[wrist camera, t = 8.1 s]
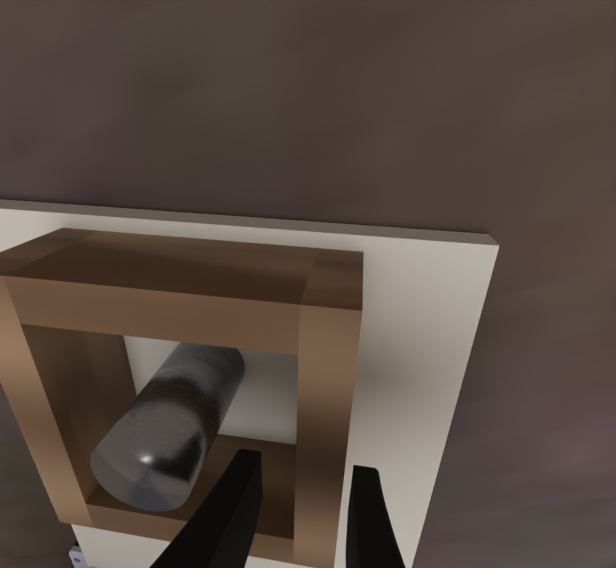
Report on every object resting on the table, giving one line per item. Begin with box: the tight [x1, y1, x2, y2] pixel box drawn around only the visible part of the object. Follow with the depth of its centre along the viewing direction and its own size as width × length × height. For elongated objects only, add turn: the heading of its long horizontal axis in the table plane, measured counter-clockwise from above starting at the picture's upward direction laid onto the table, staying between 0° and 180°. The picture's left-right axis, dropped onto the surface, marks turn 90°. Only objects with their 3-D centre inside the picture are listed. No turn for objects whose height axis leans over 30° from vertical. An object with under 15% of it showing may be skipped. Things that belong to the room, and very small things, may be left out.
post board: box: [0, 199, 499, 568], centre depth 16 cm, size 24×20×6 cm
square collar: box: [0, 228, 364, 568], centre depth 14 cm, size 11×11×4 cm
